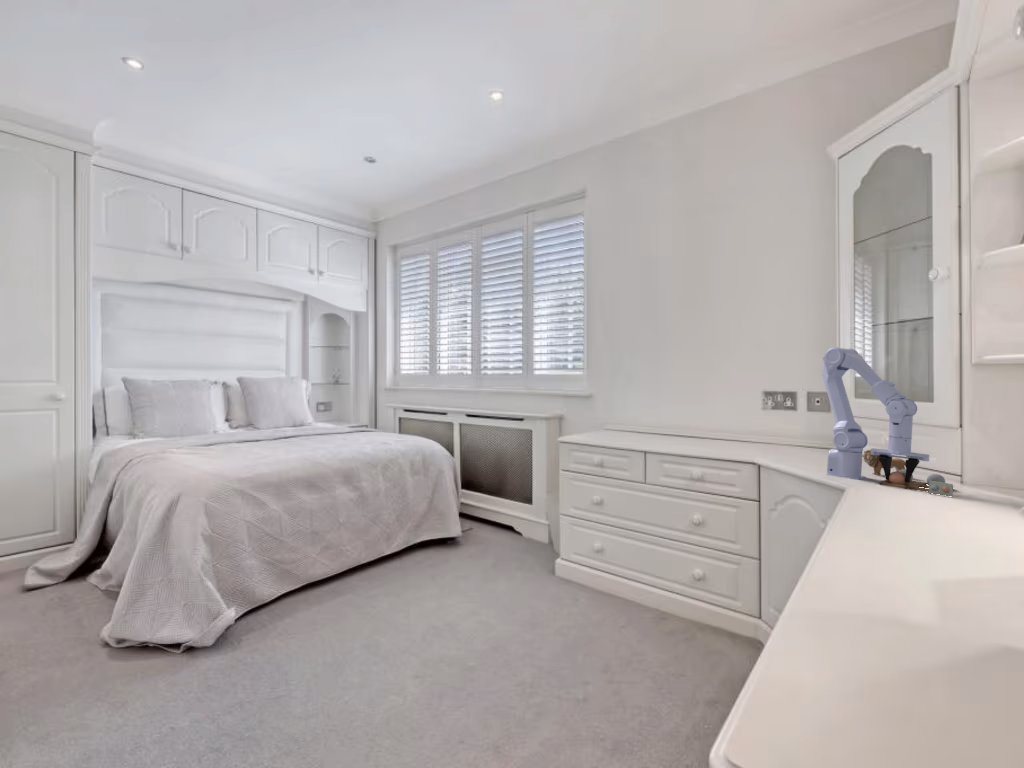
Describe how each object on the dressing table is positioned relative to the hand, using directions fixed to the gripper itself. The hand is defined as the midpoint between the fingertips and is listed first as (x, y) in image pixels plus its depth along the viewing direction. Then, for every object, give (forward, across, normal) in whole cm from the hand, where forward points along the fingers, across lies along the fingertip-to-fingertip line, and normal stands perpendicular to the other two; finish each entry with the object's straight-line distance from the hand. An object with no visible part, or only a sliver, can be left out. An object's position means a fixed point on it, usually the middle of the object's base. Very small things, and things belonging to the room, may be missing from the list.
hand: (897, 480), depth 159 cm
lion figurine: (+2, -8, +19) cm, 20 cm away
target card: (+2, +12, -6) cm, 13 cm away
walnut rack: (+2, +4, +4) cm, 6 cm away
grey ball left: (+1, 0, +7) cm, 7 cm away
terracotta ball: (+1, 0, 0) cm, 1 cm away
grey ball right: (+1, +8, +7) cm, 11 cm away
